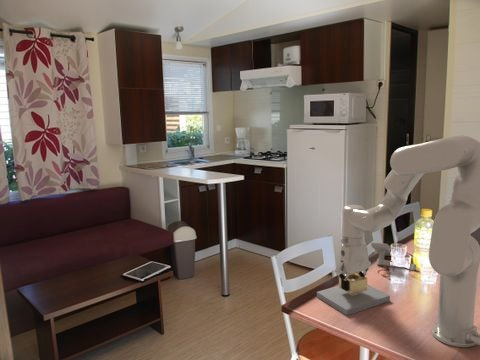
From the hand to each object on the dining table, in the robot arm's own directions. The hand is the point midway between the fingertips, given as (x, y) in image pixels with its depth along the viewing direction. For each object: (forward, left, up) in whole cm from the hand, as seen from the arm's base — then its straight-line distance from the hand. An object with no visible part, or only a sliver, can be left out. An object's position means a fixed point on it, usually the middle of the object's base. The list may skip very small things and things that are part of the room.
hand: (353, 286), depth 150 cm
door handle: (+16, -39, -5) cm, 43 cm away
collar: (0, 0, -1) cm, 1 cm away
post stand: (0, 0, -5) cm, 5 cm away
